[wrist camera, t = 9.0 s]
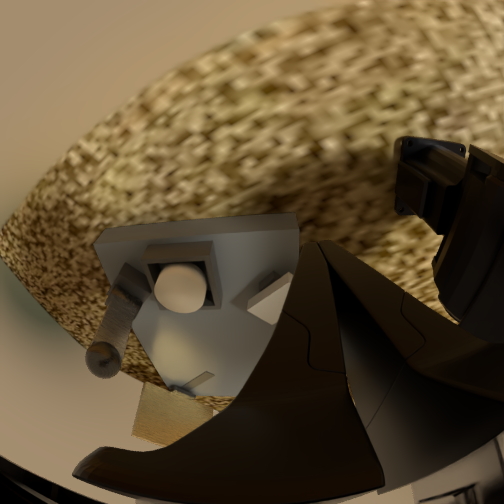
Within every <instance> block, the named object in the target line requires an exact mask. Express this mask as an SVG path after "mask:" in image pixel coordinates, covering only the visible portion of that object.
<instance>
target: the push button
mask: <svg viewBox="0 0 504 504" xmlns="http://www.w3.org/2000/svg"><path fill="white" fill-rule="evenodd" d="M206 289H207V278H206V275H205V274H204V272H203V271H202V270H201V269H200V268H199V267H198V266H196V265H194V264H192V263H190V262H170V263H168V264H166V265H165V266H164V267H163V268H162V270H161V272H160V274H159V277H158V279H157V282H156V284H155V287H154V293H155V296H156V298H157V300H158V301H159V302H160V303H161V304H162V305H163V306H164V307H166V308H167V309H169V310H171V311H174V312H178V313H191V312H194V311H196V310H198V309H199V308H201V306H202V305H203V303H204V299H205V294H206Z"/></svg>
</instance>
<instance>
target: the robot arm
mask: <svg viewBox="0 0 504 504" xmlns="http://www.w3.org/2000/svg"><path fill="white" fill-rule="evenodd" d="M409 140H410V144H409V145H407V142H408V141H409ZM460 148H461V151H460ZM468 152H469V158H468V160H467V159H465V154H466V147H465V146H464V145H463V144H461V143H456V142H450V141H444V140H437V139H430V138H423V137H414V136H405V137H404V138H403V140H402V148H401V159H400V163H399V164H398V173H397V182H396V190H395V193H396V200H395V207H394V210H395V212H396V213H397V214H398V215H417V216H418V217H419V218H420V219H423V220H424V221H425V222H426V223H427V224H428V225H429V226H430V227H431V228H432V230H433V231H434V232H435V233H436V234H437V235H443V236H444V237H443V240H442V242H441V245H440V247H439V250H438V252H437V254H436V256H434V258H433V260H432V263H431V264H432V267H433V275H434V281H435V283H436V286H437V288H438V290H439V295H438V298H439V301H440V302H441V304H442V305H443V307H444V308H445V310H446V311H447V313H448V314H449V315H450V316H451V317H452V318H453V319H454V320H456V321H457V322H459V324H458V325H457V324H455V323H453V322H452V321H450V320H448V319H447V318H445V317H443V316H442V315H440V314H439V313H437V312H436V311H434V310H432V309H431V308H429V307H428V306H426V305H425V304H423V303H422V302H420V301H419V300H418V299H416V298H415V297H413V296H412V295H411V294H409V293H408V292H405V291H404V290H403V289H402V288H401V287H399V286H398V285H396V284H395V283H393V282H392V281H391V280H389V279H388V278H386V277H385V276H383V275H382V274H381V273H379V272H378V271H376V270H375V269H373V268H372V267H370V266H369V265H367V264H366V263H364V262H363V261H361V260H360V259H358V258H357V257H355V256H354V255H352V254H351V253H349V252H348V251H346V250H345V249H343V248H342V247H340V246H339V245H337V244H336V243H334V242H333V241H331V240H324V241H318V242H309V243H304V244H303V246H302V250H301V253H300V256H299V259H298V262H297V265H296V268H295V272H294V275H293V278H292V281H291V284H290V287H289V290H288V293H287V296H286V299H285V302H284V305H283V308H282V310H281V313H280V316H279V319H278V321H277V324H276V326H275V329H274V331H273V334H272V336H271V338H270V340H269V342H268V344H267V346H266V348H265V350H264V352H263V353H262V355H261V357H260V359H259V360H258V362H257V364H256V366H255V367H254V369H253V371H252V372H251V374H250V376H249V377H248V379H247V381H246V382H245V384H244V386H243V387H242V389H241V390H240V392H239V393H238V395H237V396H236V398H235V399H234V400H233V401H232V402H231V403H230V404H229V405H228V406H227V407H226V408H225V409H224V410H222V411H221V412H219V413H218V414H217V415H215V416H214V417H212V418H211V419H209V420H208V421H206V422H205V423H203V424H202V425H200V426H199V427H197V428H196V429H194V430H193V431H191V432H190V433H188V434H187V435H185V436H183V437H182V438H180V439H179V440H177V441H175V442H174V443H172V444H170V445H168V446H166V447H164V448H160V449H157V450H153V451H146V452H139V451H130V450H125V449H119V448H114V447H106V446H105V447H99V448H98V449H96V450H95V451H93V452H92V453H91V454H89V455H88V456H86V457H85V458H84V459H83V460H82V461H80V462H79V464H78V465H77V466H76V467H75V469H74V471H73V473H72V476H73V477H75V478H77V479H79V480H81V481H84V482H86V483H89V484H92V485H94V486H97V487H99V488H102V489H105V490H108V491H111V492H114V493H117V494H121V495H124V496H127V497H131V498H134V499H136V502H135V504H337V503H341V502H344V501H347V500H350V499H353V498H356V497H359V496H362V495H365V494H367V493H370V492H373V491H376V490H377V493H378V495H380V494H383V493H386V492H389V491H392V490H395V489H398V488H401V487H404V486H407V485H409V484H411V486H412V492H413V497H414V503H415V504H504V159H503V158H501V157H499V156H497V155H495V154H492V153H490V152H488V151H486V150H483V149H481V148H479V147H476V146H474V145H471V144H470V147H469V151H468ZM400 207H402V209H401V210H399V208H400ZM404 292H405V293H404ZM346 374H347V376H346ZM347 378H348V381H349V384H350V388H351V391H352V395H353V398H354V402H355V405H356V407H355V405H354V402H353V400H352V398H351V395H350V392H349V388H348V383H347ZM0 504H107V503H104V502H101V501H98V500H95V499H93V498H90V497H87V496H85V495H82V494H79V493H77V492H74V491H72V490H70V489H68V488H65V487H63V486H60V485H58V484H56V483H54V482H52V481H50V480H47V479H45V478H43V477H41V476H39V475H37V474H35V473H32V472H30V471H29V470H27V469H25V468H23V467H21V466H19V465H17V464H15V463H14V462H12V461H10V460H8V459H7V458H5V457H3V456H2V455H0Z"/></svg>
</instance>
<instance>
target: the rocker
mask: <svg viewBox="0 0 504 504" xmlns="http://www.w3.org/2000/svg"><path fill="white" fill-rule="evenodd" d="M292 278H293V275H292V274H291V273H290V272H288V273H287V274H285V275H284V276H282V277H281V278H280V279H278V280H277V281H275V282H274V283H272V284H271V285H270V286H268V287H267V288H265V289H264V290H262V291H261V292H260V293H258V294H257V295H255V296H254V297H252V298H251V299H249V300H248V306H247V311H249V312H250V313H252V314H254V315H256V316H257V317H259V318H261V319H262V320H264V321H266V322H268V323H269V324H271V325H273V324H275V323H276V322H277V321H278V319H279V316H280V313H281V310H282V308H283V305H284V302H285V299H286V296H287V293H288V290H289V287H290V284H291V281H292Z"/></svg>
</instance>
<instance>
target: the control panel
mask: <svg viewBox="0 0 504 504" xmlns="http://www.w3.org/2000/svg"><path fill="white" fill-rule="evenodd" d="M93 245H94V248H95V250H96V253H97V255H98V258H99V260H100V262H101V265H102V267H103V269H104V272H105V274H106V276H107V278H108V281H109V283H110V285H111V287H110V289H109V291H108V293H107V295H109V294H110V293H111V291H112V289H113V287H114V286H115V284H116V285H117V286H119V287H120V288H122V289H123V290H125V291H127V292H128V293H130V294H131V295H133V296H135V297H136V298H138V299H139V300H141V301H143V304H142V307H141V309H140V311H139V313H138V315H137V316H136V318H135V319H134V321H133V322H132V326H131V327H132V329H133V330H134V332H135V334H136V336H137V338H138V339H139V341H140V343H141V345H142V347H143V348H144V350H145V352H146V353H147V355H148V357H149V358H150V360H151V362H152V363H153V365H154V367H155V368H156V370H157V371H158V373H159V375H160V376H161V378H162V379H163V381H164V382H165V384H166V385H167V387H168V388H169V390H170V389H172V388H173V387H175V386H177V387H179V388H181V389H184V390H186V391H188V392H191V393H193V394H196V395H200V396H237V395H238V393H239V392H240V390H241V389H242V387H243V386H244V384H245V382H246V381H247V379H248V377H249V376H250V374H251V372H252V371H253V369H254V367H255V366H256V364H257V362H258V360H259V359H260V357H261V355H262V353H263V352H264V350H265V348H266V346H267V344H268V342H269V340H270V338H271V336H272V334H273V331H274V329H275V326H276V324H277V322H276V323H275V324H273V325H271V324H269V323H268V322H266V321H264V320H262V319H261V318H259V317H257V316H256V315H254V314H252V313H250V312H249V311H247V306H248V300H249V299H251V298H252V297H254V296H255V295H257V294H258V293H260V292H261V291H262V290H264V289H265V288H267V287H268V286H270V285H271V284H272V283H274V282H275V281H277V280H278V279H280V278H281V277H282V276H284V275H285V274H287V273H288V272H290V273H291V274H292V275H294V272H295V268H296V265H297V262H298V259H299V225H298V222H297V218H296V214H295V213H278V214H261V215H246V216H232V217H219V218H206V219H195V220H183V221H173V222H162V223H152V224H143V225H133V226H124V227H116V228H107V229H105V230H104V231H103V232H102V234H101V235H100V236H99V237H98V239H97V240H96V241H95V242H94V244H93ZM170 262H190V263H192V264H194V265H196V266H198V267H199V268H200V269H201V270H202V271H203V272H204V274H205V275H206V278H207V289H206V294H205V299H204V303H203V305H202V306H201V308H199V309H198V310H196V311H194V312H191V313H178V312H174V311H171V310H169V309H167V308H166V307H164V306H163V305H162V304H161V303H160V302H159V301H158V300H157V298H156V296H155V293H154V287H155V284H156V282H157V279H158V277H159V274H160V272H161V270H162V268H163V267H164V266H165V265H166V264H168V263H170Z"/></svg>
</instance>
